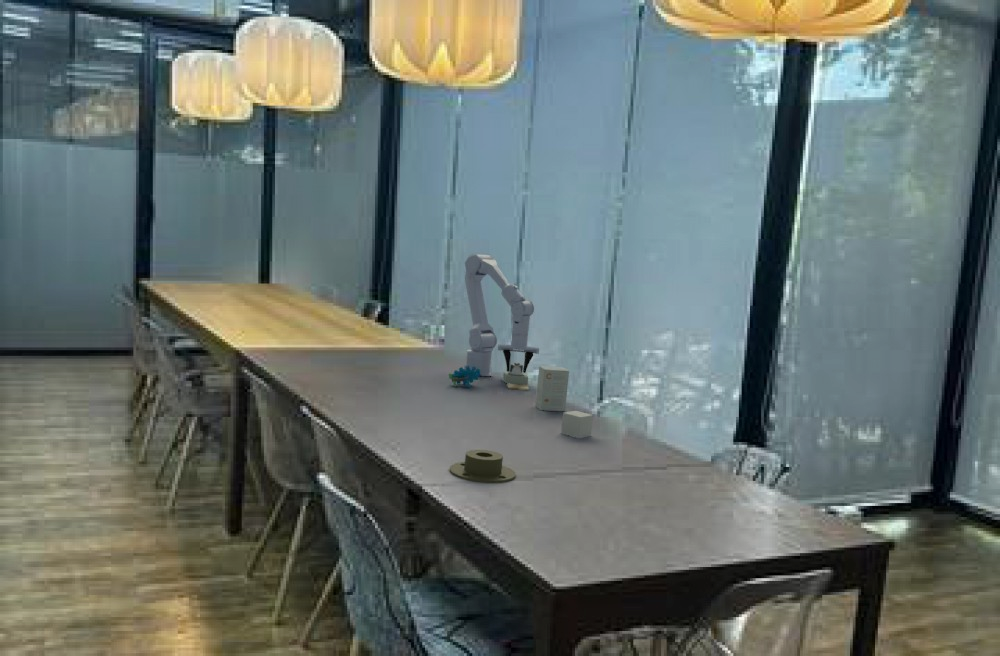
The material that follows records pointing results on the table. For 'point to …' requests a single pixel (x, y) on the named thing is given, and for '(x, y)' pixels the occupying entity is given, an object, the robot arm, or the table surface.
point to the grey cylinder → (516, 369)
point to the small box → (552, 388)
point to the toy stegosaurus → (465, 375)
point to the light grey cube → (577, 424)
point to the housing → (515, 378)
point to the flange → (483, 467)
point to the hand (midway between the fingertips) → (516, 371)
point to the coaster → (517, 386)
